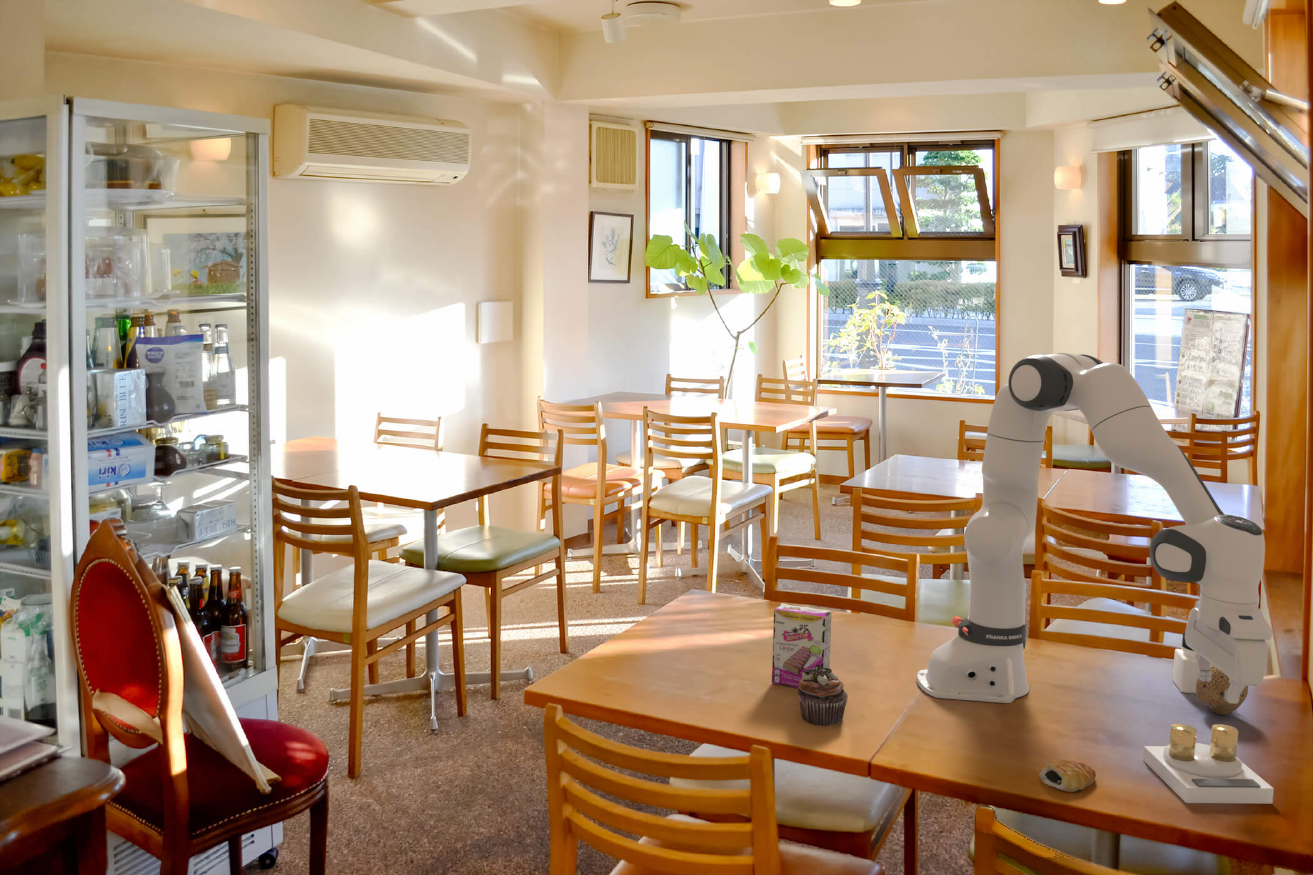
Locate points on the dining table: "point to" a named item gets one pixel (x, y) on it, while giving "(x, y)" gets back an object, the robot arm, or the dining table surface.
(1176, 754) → the cylinder
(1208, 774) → the scale
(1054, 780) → the pastry
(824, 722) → the cupcake
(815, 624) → the candy bar box
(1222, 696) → the natural sponge
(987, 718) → the dining table surface
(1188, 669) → the medicine bottle
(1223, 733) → the cylinder
